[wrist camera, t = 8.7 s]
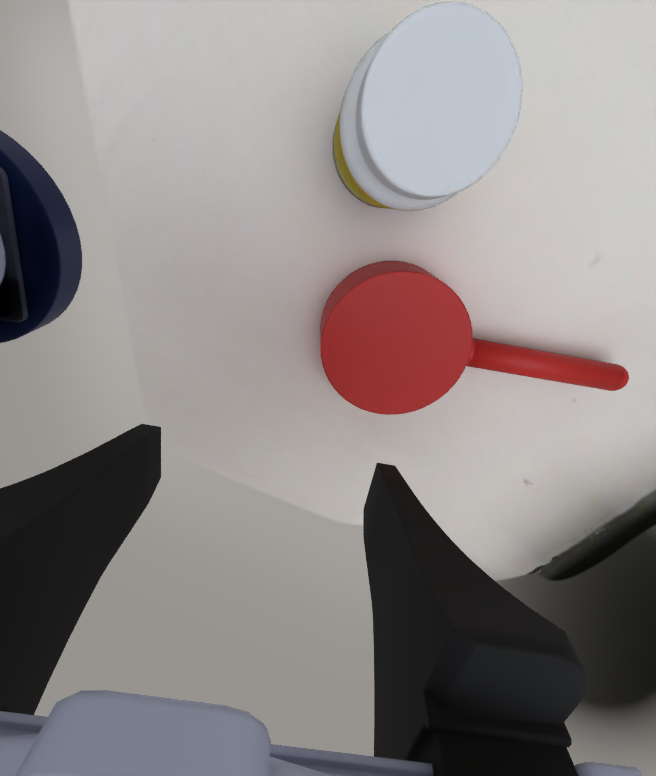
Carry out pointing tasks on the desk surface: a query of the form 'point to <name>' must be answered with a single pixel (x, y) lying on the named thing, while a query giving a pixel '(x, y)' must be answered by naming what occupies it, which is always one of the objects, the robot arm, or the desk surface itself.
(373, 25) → the desk surface
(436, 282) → the red handled disc
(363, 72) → the supplement bottle
